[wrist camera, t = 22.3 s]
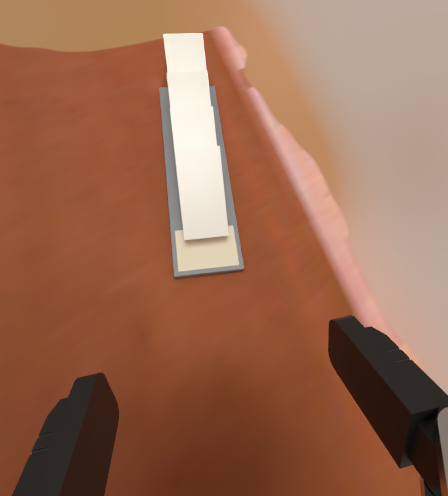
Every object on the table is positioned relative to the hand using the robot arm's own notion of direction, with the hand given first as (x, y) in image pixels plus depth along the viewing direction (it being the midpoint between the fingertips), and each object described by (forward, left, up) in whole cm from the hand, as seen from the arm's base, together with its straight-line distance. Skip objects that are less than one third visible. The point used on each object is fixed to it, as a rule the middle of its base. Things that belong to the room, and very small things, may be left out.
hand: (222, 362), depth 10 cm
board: (-16, +15, -21) cm, 31 cm away
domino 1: (-22, +20, -19) cm, 35 cm away
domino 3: (-13, +12, -19) cm, 26 cm away
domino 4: (-8, +9, -19) cm, 23 cm away
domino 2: (-17, +16, -19) cm, 30 cm away
